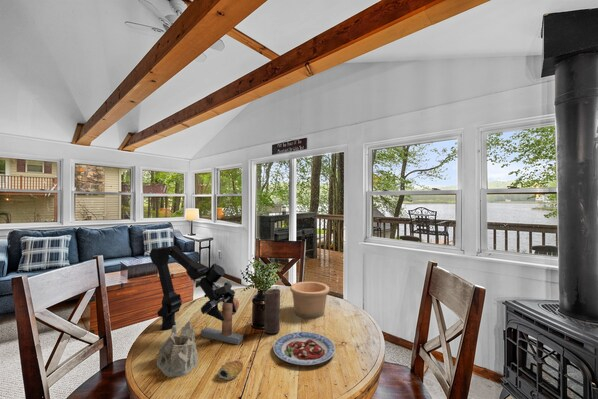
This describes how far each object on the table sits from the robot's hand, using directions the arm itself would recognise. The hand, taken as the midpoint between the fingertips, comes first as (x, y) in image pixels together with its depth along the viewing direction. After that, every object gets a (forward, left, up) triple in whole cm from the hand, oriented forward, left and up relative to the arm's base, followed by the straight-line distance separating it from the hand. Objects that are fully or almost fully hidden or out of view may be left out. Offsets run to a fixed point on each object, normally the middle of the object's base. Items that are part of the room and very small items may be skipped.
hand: (229, 316), depth 124 cm
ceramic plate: (+21, +27, -11) cm, 36 cm away
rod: (-1, -1, -8) cm, 8 cm away
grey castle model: (+10, -22, -11) cm, 27 cm away
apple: (-30, +6, -11) cm, 32 cm away
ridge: (-3, -3, -11) cm, 11 cm away
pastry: (+24, -4, -11) cm, 27 cm away
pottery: (-14, +47, -11) cm, 50 cm away
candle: (0, +20, -11) cm, 23 cm away
